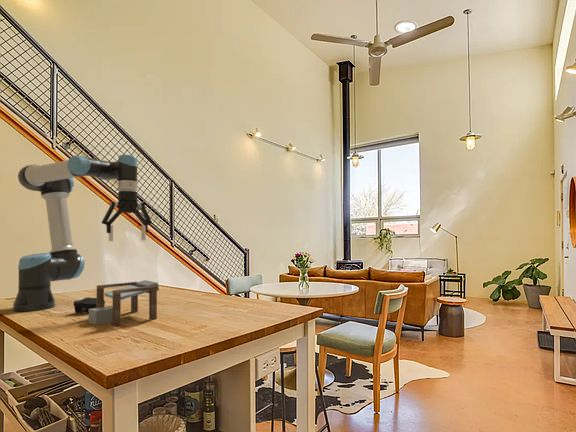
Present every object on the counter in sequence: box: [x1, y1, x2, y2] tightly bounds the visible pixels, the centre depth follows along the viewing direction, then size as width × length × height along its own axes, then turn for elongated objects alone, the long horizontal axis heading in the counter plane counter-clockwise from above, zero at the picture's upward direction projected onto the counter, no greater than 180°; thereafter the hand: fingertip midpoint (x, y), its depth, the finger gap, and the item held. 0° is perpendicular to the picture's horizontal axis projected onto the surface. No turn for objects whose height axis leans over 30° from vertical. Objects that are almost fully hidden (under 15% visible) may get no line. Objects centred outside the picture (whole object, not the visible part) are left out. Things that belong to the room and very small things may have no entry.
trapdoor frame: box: [96, 281, 158, 327], centre depth 141 cm, size 20×15×12 cm
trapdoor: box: [104, 279, 160, 301], centre depth 143 cm, size 15×16×3 cm
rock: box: [73, 297, 106, 314], centre depth 154 cm, size 10×9×6 cm
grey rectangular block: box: [87, 305, 113, 326], centre depth 136 cm, size 6×5×8 cm
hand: (127, 240), depth 160 cm, fingers open, 13 cm apart
